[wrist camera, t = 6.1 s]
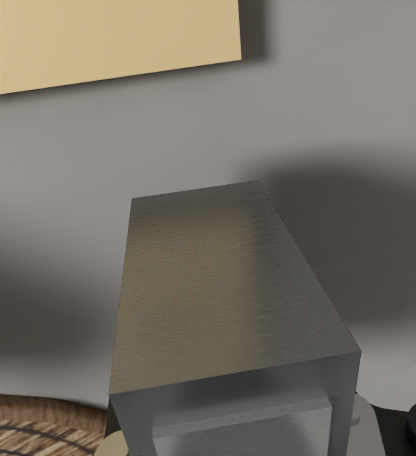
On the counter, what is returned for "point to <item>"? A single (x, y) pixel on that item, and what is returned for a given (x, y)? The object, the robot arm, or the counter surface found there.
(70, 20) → the yellow peg board
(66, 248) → the counter surface
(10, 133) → the counter surface
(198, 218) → the grey rectangular block
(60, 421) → the trivet
